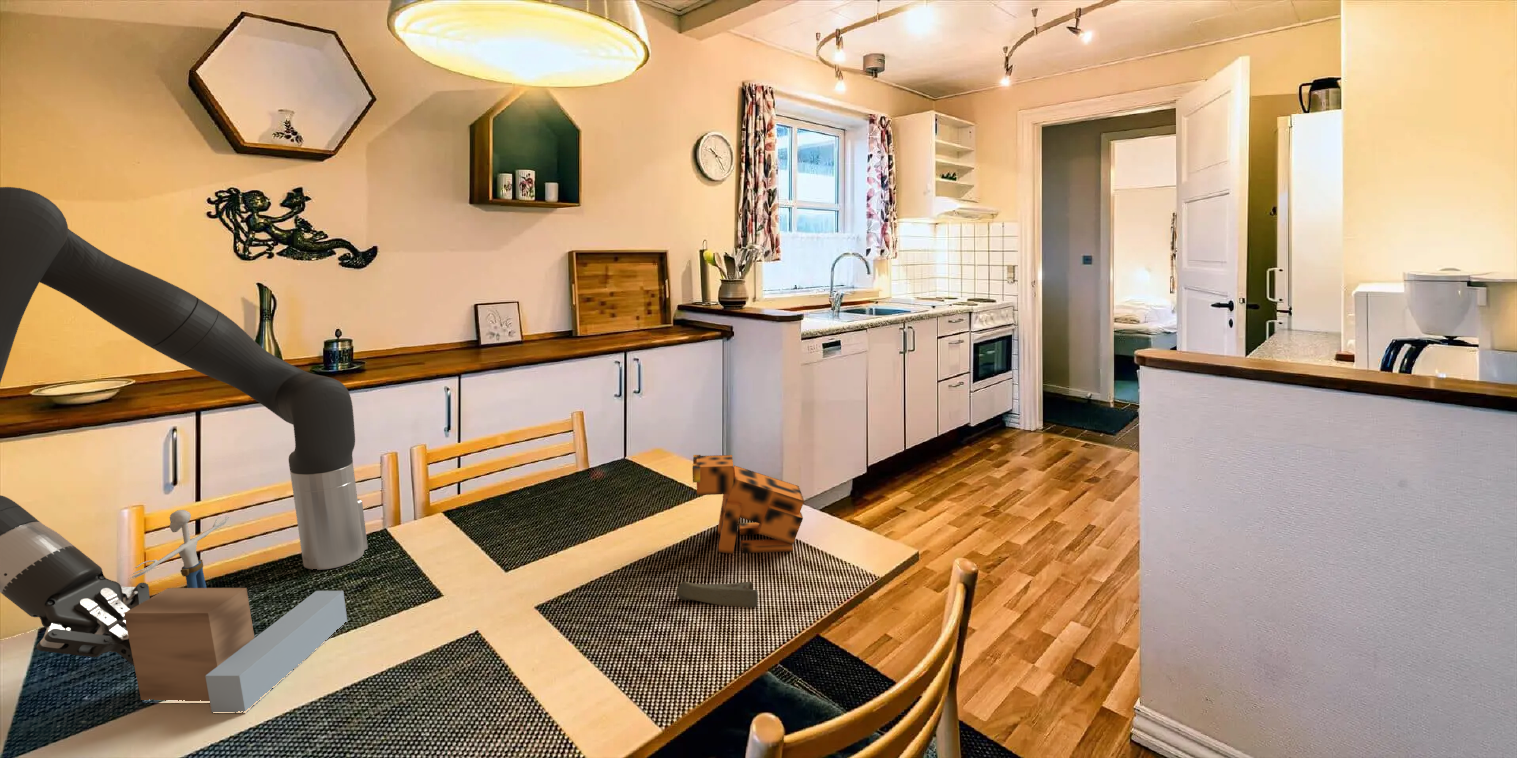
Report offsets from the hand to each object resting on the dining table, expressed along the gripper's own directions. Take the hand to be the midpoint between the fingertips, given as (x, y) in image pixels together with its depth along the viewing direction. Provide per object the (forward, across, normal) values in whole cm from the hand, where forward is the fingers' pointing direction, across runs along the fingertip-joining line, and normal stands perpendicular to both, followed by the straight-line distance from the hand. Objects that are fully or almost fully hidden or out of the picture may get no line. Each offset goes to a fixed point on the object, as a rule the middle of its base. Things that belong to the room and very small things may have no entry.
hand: (154, 660), depth 84 cm
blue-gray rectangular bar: (+12, +5, -6) cm, 14 cm away
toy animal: (+54, +43, -50) cm, 85 cm away
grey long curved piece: (+51, +21, -46) cm, 72 cm away
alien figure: (0, +10, +6) cm, 12 cm away
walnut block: (+7, 0, -1) cm, 7 cm away
